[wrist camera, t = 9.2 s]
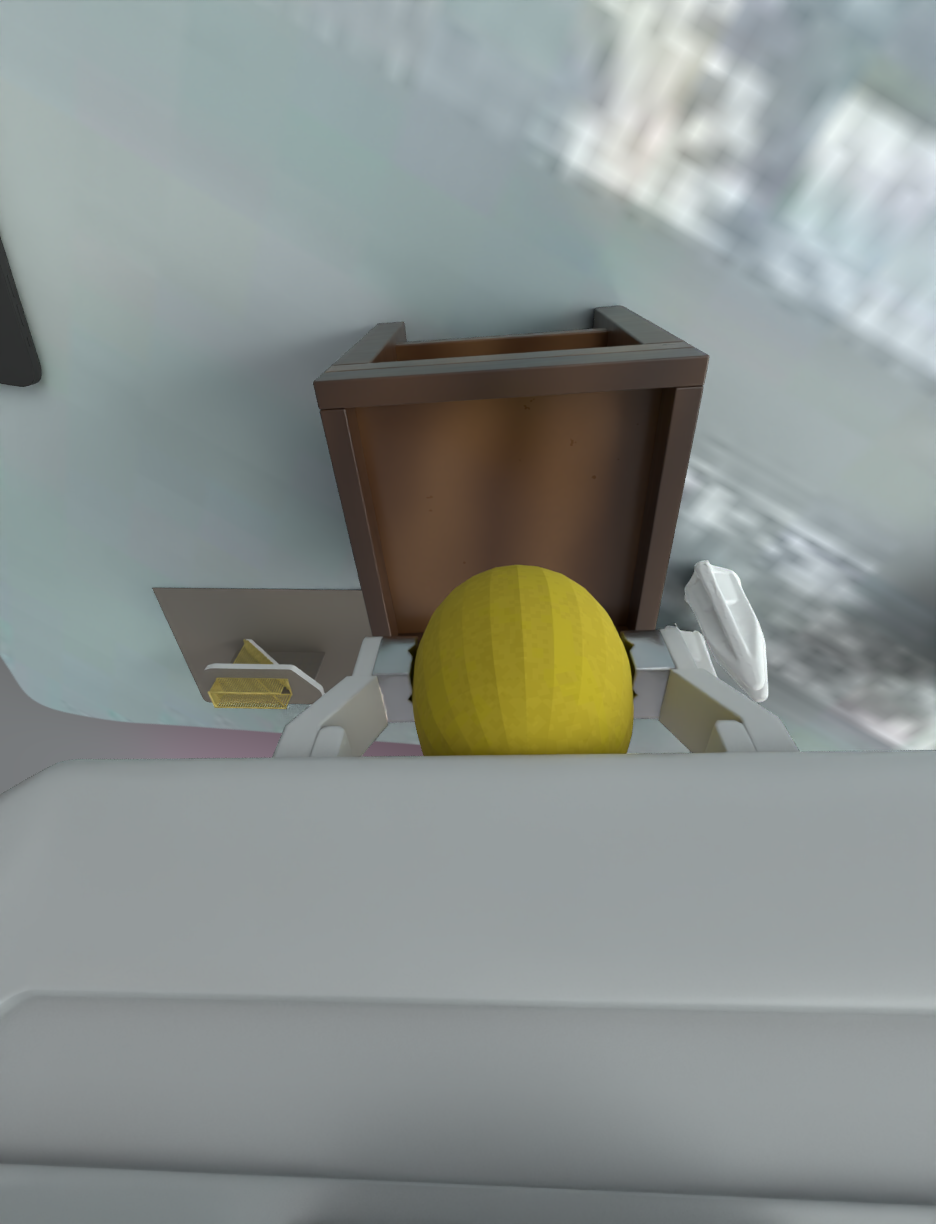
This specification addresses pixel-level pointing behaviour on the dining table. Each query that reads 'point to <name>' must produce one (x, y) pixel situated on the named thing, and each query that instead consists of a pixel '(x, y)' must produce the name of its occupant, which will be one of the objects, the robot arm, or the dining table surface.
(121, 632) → the dining table surface
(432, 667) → the lemon
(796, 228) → the dining table surface
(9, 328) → the phone
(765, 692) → the shaker set
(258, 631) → the platform
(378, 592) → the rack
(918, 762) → the robot arm
